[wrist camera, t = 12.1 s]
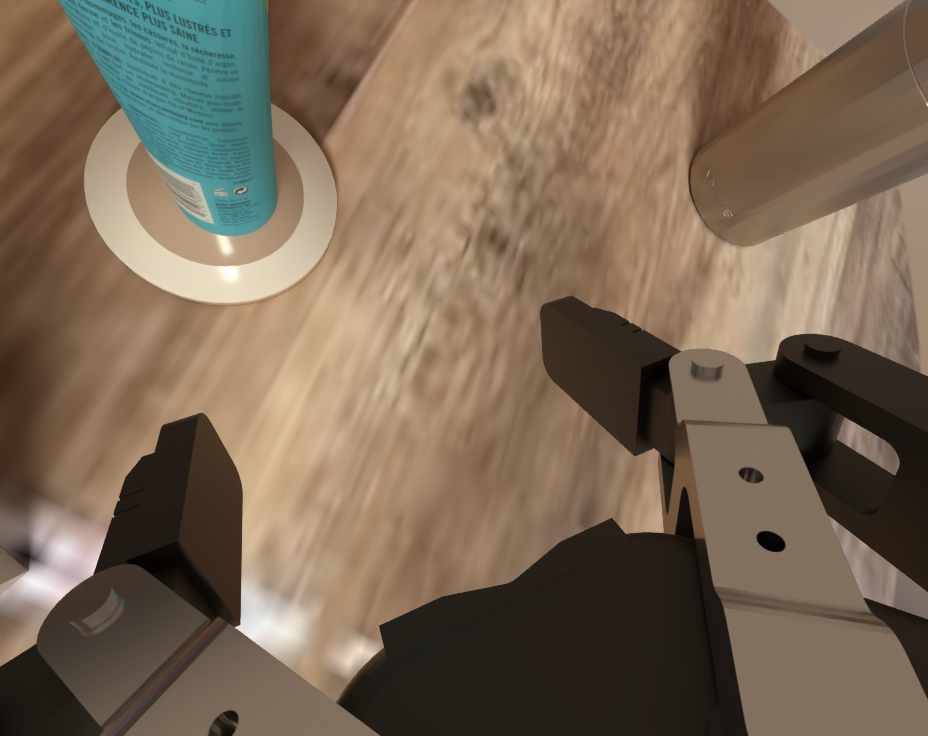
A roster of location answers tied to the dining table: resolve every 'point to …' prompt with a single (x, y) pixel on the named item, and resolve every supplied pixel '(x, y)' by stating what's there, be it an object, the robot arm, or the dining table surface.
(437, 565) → the dining table surface
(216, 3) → the tube
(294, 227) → the coaster
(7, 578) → the stool
